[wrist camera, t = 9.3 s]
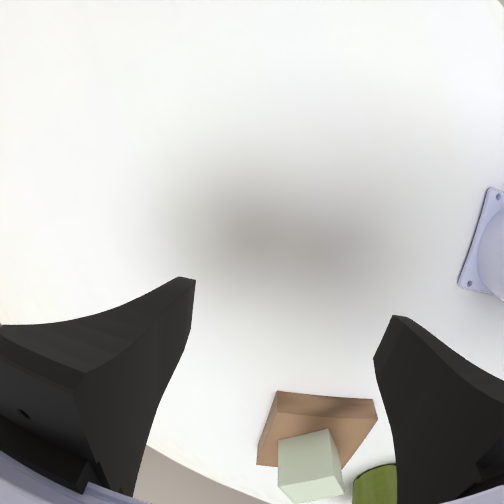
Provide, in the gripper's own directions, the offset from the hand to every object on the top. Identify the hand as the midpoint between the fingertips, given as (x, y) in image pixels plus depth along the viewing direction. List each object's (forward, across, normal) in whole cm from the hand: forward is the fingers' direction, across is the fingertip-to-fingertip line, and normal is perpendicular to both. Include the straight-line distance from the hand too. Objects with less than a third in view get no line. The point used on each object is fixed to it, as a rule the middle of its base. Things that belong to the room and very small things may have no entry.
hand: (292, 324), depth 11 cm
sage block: (+8, -7, +18) cm, 21 cm away
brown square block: (+11, -7, +18) cm, 22 cm away
